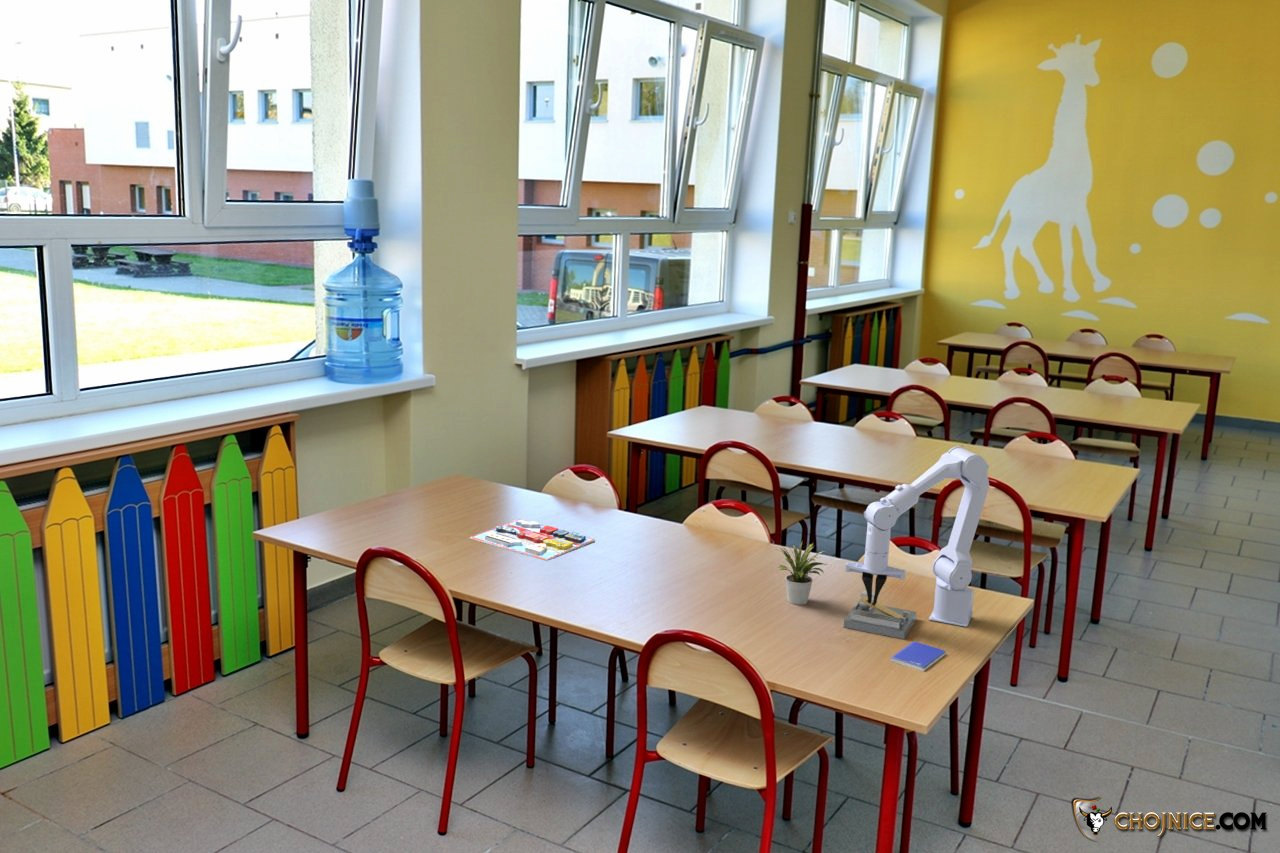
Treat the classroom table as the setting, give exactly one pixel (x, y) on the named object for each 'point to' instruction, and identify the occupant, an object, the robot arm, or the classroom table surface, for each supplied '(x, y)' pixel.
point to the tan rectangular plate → (880, 608)
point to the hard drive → (918, 656)
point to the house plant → (800, 575)
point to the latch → (866, 596)
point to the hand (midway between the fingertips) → (872, 602)
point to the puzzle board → (533, 539)
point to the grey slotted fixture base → (880, 621)
